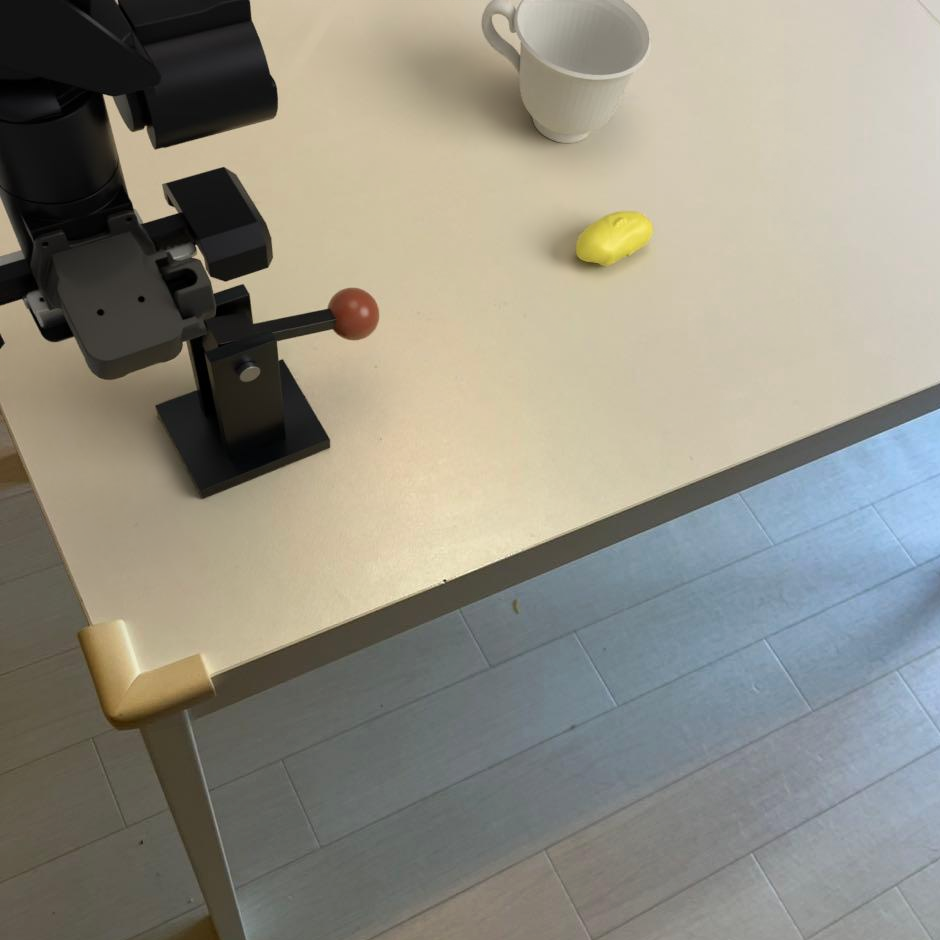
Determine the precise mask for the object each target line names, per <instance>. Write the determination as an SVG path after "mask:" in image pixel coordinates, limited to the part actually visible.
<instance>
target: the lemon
mask: <svg viewBox="0 0 940 940" xmlns="http://www.w3.org/2000/svg"><path fill="white" fill-rule="evenodd" d="M653 232H654V226H653V222H652V221H651V219H649V217H647V216H646V215H645V214H644V213H642V212H638V211H635V210H620V211H614V212H611V213H608V214H606V215H604V216H602V217H600V218H598V220H596V221H594V222H592V223H591V224H590V225H588V226H586V228H585V229H584V230H583V231H582V233H580V235H579V236H578V238H577V241H576V243H575V254H576V256H577V257H578V258H579V259H580V260H581V261H583V262H587V263H596V264H599V265H601V266H604V267H609V266H611V265H614V264H615V263H617V262H618V261H620V260H621V259H624V258H625V257H630V256H631V255H632V254H633V253H634V252H636V251H639V250H641V249H642V248H644V247H645V246H646V245H647V244H648V243H649V242H650V240H651V238H652V236H653Z"/></svg>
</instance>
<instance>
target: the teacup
mask: <svg viewBox="0 0 940 940" xmlns="http://www.w3.org/2000/svg"><path fill="white" fill-rule="evenodd" d="M494 15H501V16H503V17H505V18H506V20H507V21H508V27H509V31H510V33H512V34H515V33H516V36H517V38H518V39H519V41H520V52H518V50H517V49H516V48H515V47H514V46H513V45H512V44H511V43H510V42H508V41H507V40H506V39H504V38H503V37H502V36H501V35H500V34H499V33H498V31H497V30H496V27H495V26H494V24H493V16H494ZM480 25H481V31H482V34H483V36H484V39H485V40H486V42H487V43H488V44H489V46H490V47H491V48H492V49H493V50H494V51H496V52H497V53H498V54H500V55H501V56H503V57H504V58H505V59H507V60H508V61H509V62H510V63H511V65H512V67H514V70H515V71H516V73H517V75H518V77H519V91H520V96H521V100H522V102H523V105H524V107H525V109H526V110H527V112H528V113H529V115H530V116H531V117H532V122H533V124H534V127H535V128H536V129H537V131H538V132H539V133H540V134H542V135H543V136H544V137H545V138H547V139H550V140H552V141H554V142H557V143H563V144H574V143H578V142H581V141H583V140H585V139H586V138H587V137H588V136H589V135H590V133H591V132H594V131H596V130H598V129H600V128H602V127H603V126H604V125H605V124H607V122H609V120H610V119H611V117H612V116H613V115H614V113H615V112H616V110H617V108H618V106H619V104H620V102H621V100H622V98H623V96H624V94H625V91H626V89H627V86H628V85H629V82H630V80H631V77H632V75H633V73H634V72H635V71H637V70H638V69H640V68H641V67H642V66H643V65H644V64H645V62H646V61H647V60H648V58H649V55H650V53H651V49H652V36H651V32H650V30H649V27H648V26H647V23H646V22H645V21H644V19H643V18H642V16H641V15H640V14H639V13H638V12H637V10H636V9H635V8H634V7H633V6H631V5H630V4H629V3H628V2H626V1H625V0H521V1H520V2H519V3H518V5H517V7H516V6H515V5H514V4H513V3H512V2H511V1H509V0H490V1H489V2H488V3H487V4H486V6H485V8H484V10H483V13H482V16H481V24H480Z"/></svg>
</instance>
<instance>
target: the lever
mask: <svg viewBox="0 0 940 940" xmlns="http://www.w3.org/2000/svg"><path fill="white" fill-rule="evenodd" d="M379 323H380V309H379V305H378V303H377V301H376V299H375V298H374V296H372V295H371V294H370V292H368V291H367V290H364V289H362V288H359V287H346V288H343V289H340V290H339V291H337V292H336V293H335V294H334V295H332V297H331V298H330V300H329V302H328V305H327V307H326V308H323V309H319V310H314V311H308V312H305V313H300V314H299V313H298V314H295V315H294V314H293V315H289V316H285V317H279V318H275V319H270V320H265V321H259V322H255V323H253V324H252V322H251V320H250V319H249V317H248V315H247V313H246V312H245V311H244V312H239V313H234V314H228V315H223V316H218V317H213V318H210V319H207V320H204V324H205V327H206V330H207V334H205V335H202V346H203V348H204V349H205V351H209V350H212V349H215V348H218V347H221V346H223V345H226V344H229V343H232V342H235V341H238V340H241V339H243V338H246V337H249V336H252V335H255V334H258V333H261V332H264V331H266V330H269V329H270V330H271V331H272V333H273V334H274V336H275V338H276V340H277V342H282V341H285V340H291V339H294V338H295V339H296V338H299V337H304V336H309V335H314V334H318V333H321V332H322V333H323V332H327V331H333V332H334V334H336V335H337V336H339V337H340V338H342V339H344V340H348V341H361V340H364V339H367V337H370V336H371V335H372V334H373V333H374V331H375V330H376V329H377V328H378V325H379Z"/></svg>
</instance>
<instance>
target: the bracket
mask: <svg viewBox="0 0 940 940" xmlns="http://www.w3.org/2000/svg"><path fill="white" fill-rule="evenodd" d="M213 293H214V298H215V303H216V314H215V316H214V317H218V316H223V315H228V314H234V313H239V312H244V311H245V312H246V313H247V315H248V317H249V319H250V320H251V322H252V324H254V318H253V310H252V309H253V308H252V304H251V303H252V302H251V301H252V300H251V294H250V292H249V291H248V289H247V287H246V286H245V284H244V283H241V284H238V285H235V286H232V287H229V288H226V289H223V290H220V291H217V292H213ZM203 322H204V321H203ZM185 342H186V343H185V344H186V347H187V352H188V357H189V361H190V365H191V369H192V374H193V380H194V383H195V387H196V390H193V391H191V392H188V393H184V394H182V395H180V396H176V397H173V398H171V399H168V400H166V401H163V402H160V403H157V404H155V406H154V407H155V410H156V413H157V416H158V418H159V420H160V421H161V424H162V425H163V428H164V429H165V431H166V433H167V435H168V437H169V439H170V441H171V443H172V445H173V446H174V449H175V451H176V452H177V455H178V457H179V458H180V460H181V462H182V463H183V465H184V468H185V470H186V471H187V473H188V476H189V477H190V479H191V481H192V482H193V484H194V487H195V488H196V490H197V492H198V494H199V496H200V498H201V499H202V500H205V499H207V498H209V497H211V496H214V495H216V494H219V493H222V492H224V491H227V490H229V489H231V488H234V487H237V486H240V485H242V484H244V483H246V482H250V481H252V480H254V479H256V478H259V477H262V476H265V475H267V474H270V473H272V472H273V471H276V470H278V469H282V468H284V467H286V466H289V465H291V464H294V463H297V462H299V461H301V460H304V459H307V458H309V457H312V456H313V455H316V454H318V453H321V452H325V451H326V450H329V449H330V448H331V438H330V437H329V434H328V433H327V431H326V429H325V428H324V426H323V424H322V423H321V421H320V419H319V418H318V417H317V415H316V412H315V411H314V409H313V408H312V405H311V404H310V403H309V401H308V399H307V398H306V396H305V394H304V392H303V391H302V389H301V386H300V385H299V383H298V382H297V380H296V378H295V377H294V375H293V373H292V372H291V370H290V368H289V367H288V366H287V363H286V362H285V360H284V358H282V359H279V350H278V348H279V347H278V341H277V340H276V338H275V336H274V334H273V333H272V331H271V330H270V329H269V330H266V331H264V332H261V333H258V334H255V335H252V336H249V337H246V338H243V339H241V340H238V341H235V342H232V343H229V344H226V345H223V346H221V347H218V348H215V349H212V350H209V351H205V349H204V348H203V346H202V336H199V337H197V338H194V339H191V340H188V341H185Z"/></svg>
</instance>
